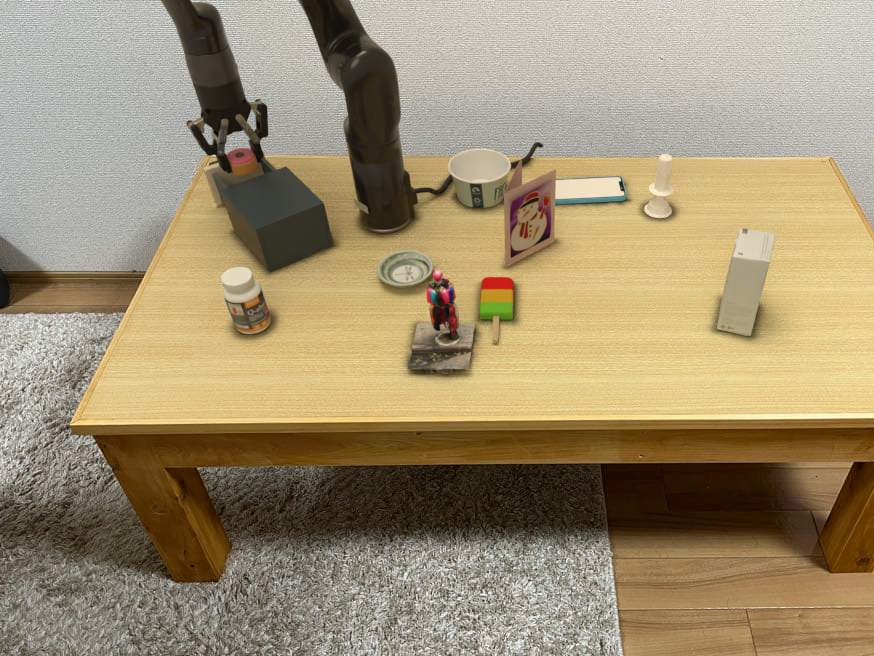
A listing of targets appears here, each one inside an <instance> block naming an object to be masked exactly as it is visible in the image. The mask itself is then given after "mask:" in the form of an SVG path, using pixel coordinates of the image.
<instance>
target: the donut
mask: <svg viewBox="0 0 874 656" xmlns="http://www.w3.org/2000/svg"><path fill="white" fill-rule="evenodd" d="M226 155H227V158H228V161H229V164H230V167H231V170H232V174H234V175H247V174H250V173H252V172H254V171H255V170H257V168H258V162H257V159H256V155H255V154H254V153H253V151H252V150H251V148H246V147H239V148H234V149H232V150H230V151H229V152H227V153H226Z"/></svg>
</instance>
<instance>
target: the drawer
mask: <svg viewBox="0 0 874 656" xmlns="http://www.w3.org/2000/svg"><path fill="white" fill-rule="evenodd" d="M262 152H263V158H262V159H261V160H262V162H260V163H258V168H257V170H255V171H254V172H252V173H250V174H247V175H234V174H232V173H229V174H228V173H227V172H226V171H225V172H224V171H223V170H222V169H221V167H220V166H219V164H218V161H217V160H214V161H211V162H209V163H208V165H207V166H205V167H202V171H203V174H204V176H205V177H204V178H205V180H206V182H207V185H208V188H209V191H210V193H211V196H212V199H213V203H214V204H216V205H217V206H218V205H221V204H222V207H223V208H224V209H225V210H227V208H226V206H225V203H224V200H223V197H222V194H221V191H220V190H221V189H224V188H226V187H229V186H232V185H235V184H238V183H241V182H243V181H246V180H249V179H252V178H255V177H258V176H260V175H263V174H266V173H269V172H272V171H274V170H277V168H275V166H274V165H273V164H272V163H271V162H270V161H269V160H268V159H266V155H265V153H264V150H263V149H262Z"/></svg>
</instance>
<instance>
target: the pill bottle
mask: <svg viewBox="0 0 874 656" xmlns="http://www.w3.org/2000/svg"><path fill="white" fill-rule="evenodd" d="M220 281H221V284H222V287H223V290H222V295H223V296H222V297H223V299H224V302H225V304H226V306H227V310H228V312H229V314H230V317H231V319H232V322H233V325H234V327H235V329H236V330H237V331H238V332H240V333H241V334H244V335H255V334H258V333H261V332H263V331H265V330H266V329H267V328H268V327H269V326H270V324H271V322H272V317H271V314H270V313H271V312H270V310H269V308H268V304H267V301H266V298H265V295H264V292H263V289H262V286H261V284H260V283H259V282H258V281H257V280H255V276H254V274H253V271H252V270H251V269H250V268H248V267H246V266H235V267H230V268H228V269H227V270H225V271H224V272H223V273H222V275H221V276H220Z"/></svg>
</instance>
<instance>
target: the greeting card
mask: <svg viewBox="0 0 874 656" xmlns="http://www.w3.org/2000/svg"><path fill="white" fill-rule="evenodd" d="M522 159H523V157H521V158H520V159H519V160H520V162H519V164H518V166H516V168H515V169H514V173H513V174H512V176H511V177H510V180H509V182H508V184H507V185H506V188H505V192H504V198H503V214H504V215H503V217H504V220H503V221H504V252H505V258H504V259H505V268H507V267H509V266H511V265H513V264H515V263H516V262H518V261H521V260H523V259H524V258H526V257H528V256H529V255H532V254H533V253H535V252H537V251H539V250H541V249H544V248H545V247H547V246H549V245H552V243H554V242H555V221H556V220H555V219H556V218H555V216H556V204H555V190H556V179H557V168H554V169H553V170H551V171H549V172H546V173H545V174H542V175H540V176H537V177H536V178H534V179H531V180H529V181H527V182H525V183H523V164H522Z"/></svg>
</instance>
